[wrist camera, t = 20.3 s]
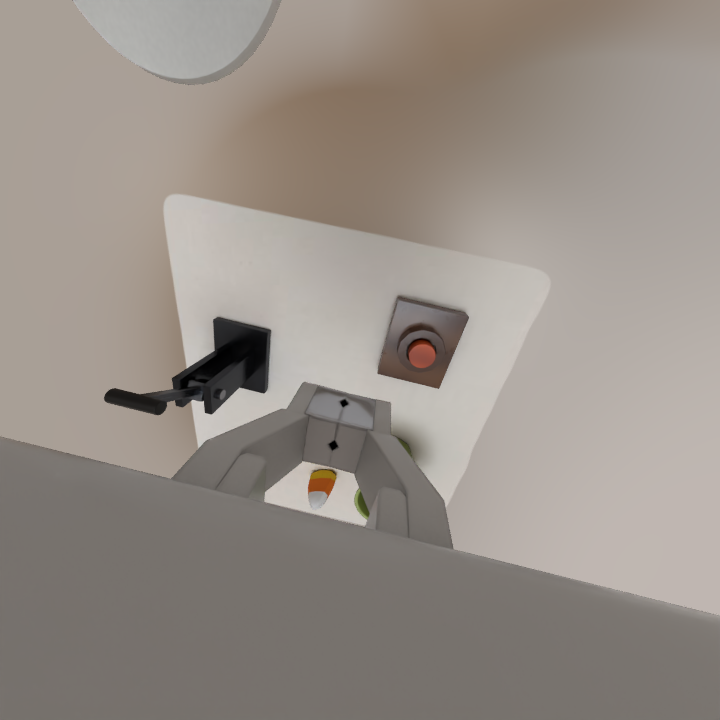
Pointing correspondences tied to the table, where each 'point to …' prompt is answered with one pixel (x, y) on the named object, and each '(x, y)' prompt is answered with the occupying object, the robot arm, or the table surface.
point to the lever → (156, 397)
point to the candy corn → (320, 487)
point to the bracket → (230, 364)
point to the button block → (421, 324)
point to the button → (421, 353)
